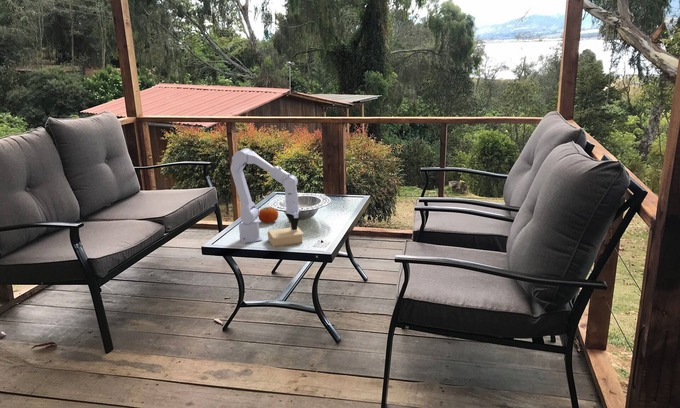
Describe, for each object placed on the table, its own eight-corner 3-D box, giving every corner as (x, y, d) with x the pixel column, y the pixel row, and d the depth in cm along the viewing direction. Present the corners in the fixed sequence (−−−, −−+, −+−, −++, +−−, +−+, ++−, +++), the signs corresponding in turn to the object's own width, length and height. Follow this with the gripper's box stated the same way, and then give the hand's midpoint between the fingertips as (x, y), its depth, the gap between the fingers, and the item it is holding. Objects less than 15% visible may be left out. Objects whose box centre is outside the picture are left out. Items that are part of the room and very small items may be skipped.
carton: (273, 247, 235) (272, 239, 234) (268, 239, 246) (267, 232, 245) (302, 243, 239) (301, 235, 238) (296, 235, 250) (295, 228, 249)
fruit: (270, 218, 282) (269, 204, 280) (282, 221, 275) (281, 207, 273) (255, 222, 275) (253, 208, 273) (266, 226, 268) (265, 211, 266)
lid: (273, 239, 234) (272, 229, 232) (268, 231, 245) (267, 222, 244) (303, 234, 238) (303, 225, 237) (297, 227, 249) (296, 218, 248)
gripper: (303, 203, 233) (305, 231, 237) (296, 196, 247) (298, 223, 250) (288, 205, 231) (291, 234, 235) (282, 198, 244) (284, 225, 248)
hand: (293, 228), depth 242 cm, fingers closed on lid, 2 cm apart
